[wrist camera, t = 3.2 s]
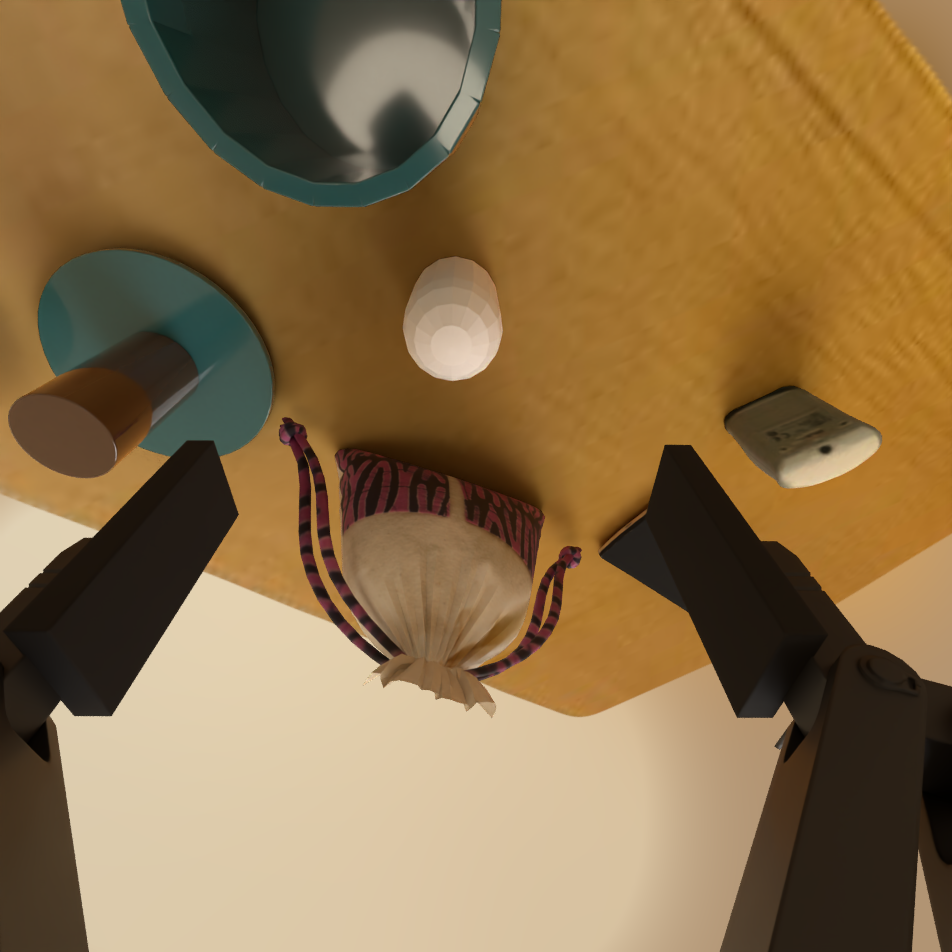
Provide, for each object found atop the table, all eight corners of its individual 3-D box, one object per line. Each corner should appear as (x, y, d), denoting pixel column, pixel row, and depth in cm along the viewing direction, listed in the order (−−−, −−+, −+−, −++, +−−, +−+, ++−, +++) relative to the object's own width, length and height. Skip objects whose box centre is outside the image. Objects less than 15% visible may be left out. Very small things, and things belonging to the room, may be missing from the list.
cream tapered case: (769, 356, 32) (845, 411, 26) (823, 389, 34) (909, 449, 27) (709, 423, 35) (764, 489, 29) (761, 451, 37) (825, 519, 30)
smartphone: (665, 501, 38) (775, 582, 43) (660, 492, 39) (769, 573, 44) (596, 555, 41) (706, 625, 46) (594, 546, 42) (702, 615, 47)
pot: (211, -147, 20) (11, -369, 11) (494, -139, 20) (513, -352, 11) (274, 183, 26) (179, 205, 18) (486, 187, 27) (494, 209, 18)
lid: (5, 244, 28) (-194, 288, 20) (249, 247, 28) (155, 292, 20) (107, 450, 36) (-3, 544, 28) (296, 451, 36) (244, 545, 28)
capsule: (500, 258, 29) (510, 292, 22) (495, 345, 32) (502, 399, 25) (410, 254, 28) (392, 288, 22) (414, 343, 32) (399, 396, 25)
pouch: (608, 492, 39) (703, 731, 23) (560, 561, 43) (612, 802, 27) (293, 384, 33) (135, 602, 17) (274, 476, 37) (134, 716, 22)
